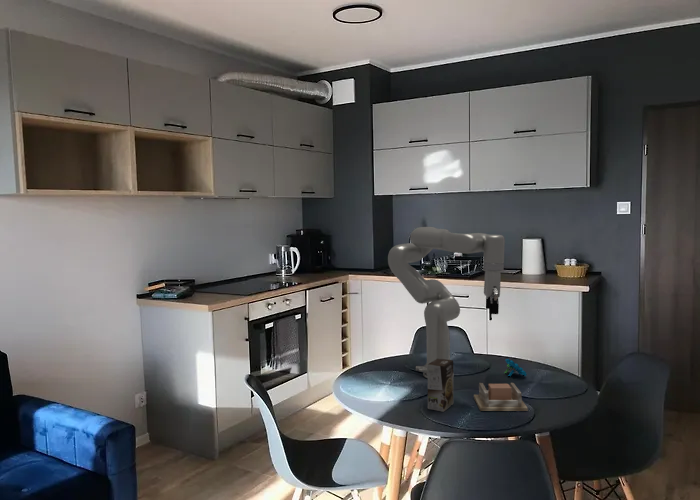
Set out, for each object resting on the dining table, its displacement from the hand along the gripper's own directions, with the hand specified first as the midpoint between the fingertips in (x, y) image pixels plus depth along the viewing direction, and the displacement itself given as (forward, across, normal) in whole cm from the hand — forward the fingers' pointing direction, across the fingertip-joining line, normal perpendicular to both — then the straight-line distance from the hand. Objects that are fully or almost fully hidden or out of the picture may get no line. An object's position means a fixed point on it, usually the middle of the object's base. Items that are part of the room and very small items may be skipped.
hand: (491, 311), depth 218 cm
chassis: (+30, +19, +1) cm, 35 cm away
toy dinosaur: (+30, -15, +13) cm, 36 cm away
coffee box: (+30, +22, -20) cm, 43 cm away
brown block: (+28, +19, +1) cm, 34 cm away
